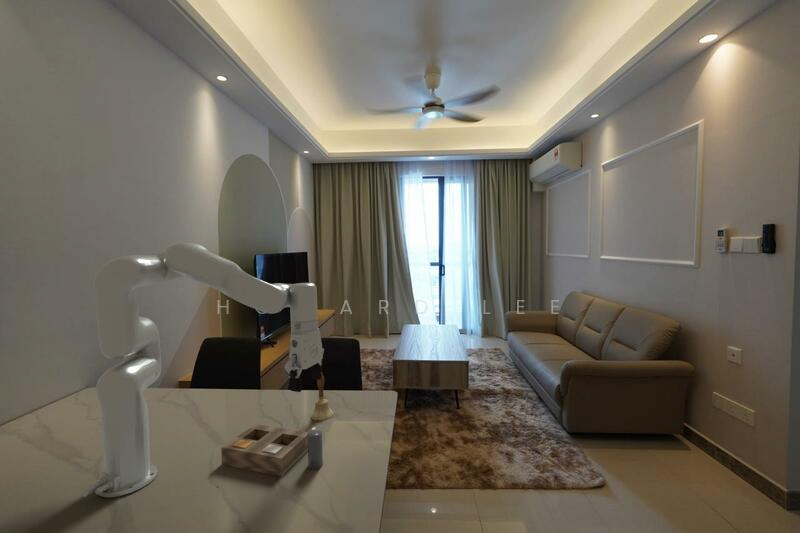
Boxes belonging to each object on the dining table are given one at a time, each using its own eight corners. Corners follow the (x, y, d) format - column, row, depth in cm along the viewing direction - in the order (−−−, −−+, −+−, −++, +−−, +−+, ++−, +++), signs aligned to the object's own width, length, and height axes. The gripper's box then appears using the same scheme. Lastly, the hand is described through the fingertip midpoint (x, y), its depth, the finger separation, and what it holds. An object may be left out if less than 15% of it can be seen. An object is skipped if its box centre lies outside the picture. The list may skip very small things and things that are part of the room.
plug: (318, 470, 95) (317, 438, 95) (305, 468, 97) (304, 436, 96) (325, 462, 99) (324, 431, 99) (313, 460, 100) (312, 429, 100)
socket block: (310, 448, 106) (309, 431, 106) (281, 476, 93) (281, 457, 93) (255, 439, 112) (255, 423, 112) (221, 464, 99) (221, 446, 99)
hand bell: (310, 422, 124) (309, 377, 123) (310, 412, 132) (309, 370, 131) (334, 418, 126) (333, 375, 125) (332, 409, 134) (331, 368, 133)
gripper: (296, 333, 91) (299, 398, 91) (331, 320, 107) (333, 376, 107) (273, 332, 93) (275, 395, 94) (311, 320, 109) (313, 373, 110)
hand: (306, 384), depth 101 cm, fingers open, 9 cm apart
